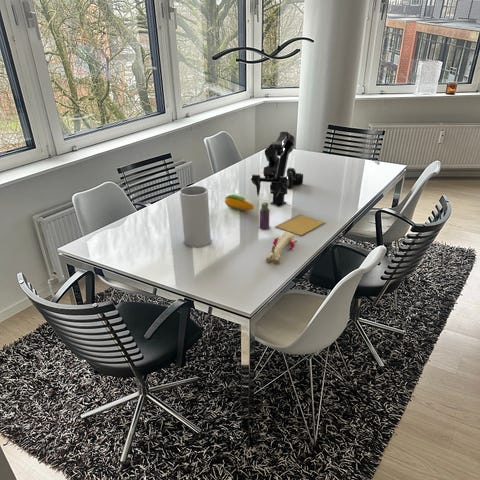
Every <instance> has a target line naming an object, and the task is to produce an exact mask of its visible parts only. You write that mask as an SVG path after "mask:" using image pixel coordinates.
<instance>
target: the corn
mask: <svg viewBox="0 0 480 480" xmlns="http://www.w3.org/2000/svg"><path fill="white" fill-rule="evenodd" d="M224 203H225V205H226V206H227V207H229V208H230V209H233V210H237V211H240V212H242V211H252V210H254V208H255V206H254V205H253V204H252V203H251V202H249V201H248V200H246V198H245V197H244V196H240V195H238V194H229V195H227V196H226V197H225V199H224Z"/></svg>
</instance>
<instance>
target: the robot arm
mask: <svg viewBox="0 0 480 480" xmlns="http://www.w3.org/2000/svg"><path fill="white" fill-rule="evenodd" d="M295 146H296V138H295V136H293V135H292V134H291V133H290V132H289V131H280V132H279V135H278V137H277V139H276V140H275V141H272V142H270V144H269V145H268V146H267V147H266V148H265V150H264V156H265V159H266V161H267V165H266V166H264V167H263V171H262V174H263V177H261V175H260V174H255V173H253V174H251V176H250V181H251V183H252V184H253V185H254V186H255V188H256V195H257V196H258V197H259V196H260V191H261V186H262V185H261V183H263V182H264V183H270V184H269V191H270V192H269V193H270V194H272V201H271V202H270V204H271V205H274V206H276V207H281V206H284V205H286V204H287V202H286V201H285V196H286V195H288V189H287V187H288V185H289V180H288V178H287V177H286V176H285V175H286V172H287V166H288V162H289V161H288V160H289V155H290V154H291V153H292V152H293V150H294V147H295Z"/></svg>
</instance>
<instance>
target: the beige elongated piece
mask: <svg viewBox="0 0 480 480" xmlns="http://www.w3.org/2000/svg"><path fill="white" fill-rule="evenodd" d="M295 235H296V234H294V233H291V232H288V231H287V232H286V231H285V232H283V233H282V235H281V236H278V237H276V238H275V239H274V240H273V242H272V247H271V252H270V253H269V254H268V255H267V257H266V259H265V261H266V262H267V263H270V262H272V260H273V263H274V264H275V265H278V264H279V263H280V260H281V258H282V257H281V254H282V252H283V250H284V249H285V247H286V246H287V245H289V246H290V247H289V251H291V250H293V249H294V248H295V246H296V244H295V243H298V239H296V238H295Z"/></svg>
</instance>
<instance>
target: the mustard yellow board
mask: <svg viewBox="0 0 480 480" xmlns="http://www.w3.org/2000/svg"><path fill="white" fill-rule="evenodd" d="M324 224H325V221H322V220H318V219H315V218H312V217H309V216H305V215H302V214H298V215H295V216H293V217H291V218H290V219H287V220H286V221H283V222H282V223H279V224H278V225H276V226H275V228H276V229H279V230H283V231H285V232H286V231H287V233H293V234H294V235H298V236H300V237H301V236H304V235H306V234H308V232H311V231H313V230H315V229H317V228H318V227H320V226H322V225H324Z"/></svg>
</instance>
